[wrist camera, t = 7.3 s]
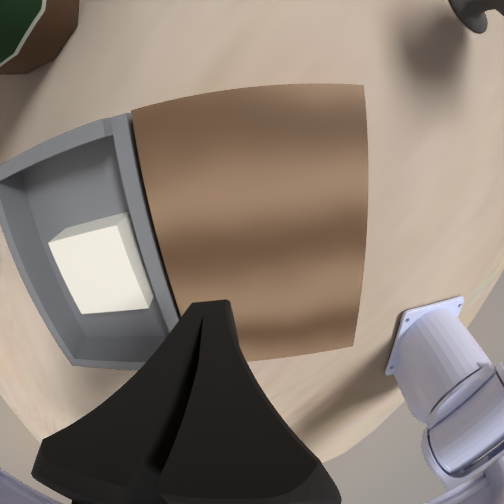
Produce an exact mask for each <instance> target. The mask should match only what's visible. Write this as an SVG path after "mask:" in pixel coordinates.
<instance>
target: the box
mask: <svg viewBox="0 0 504 504" xmlns="http://www.w3.org/2000/svg"><path fill="white" fill-rule="evenodd" d="M125 212H130V214H131V218H132V222H133V225H134V229H135V233H136V236H137V240H138V243H139V246H140V250H141V253H142V256H143V259H144V262H145V266H146V269H147V272H148V275H149V278H150V281H151V284H152V286H153V289H154V292H155V294H154V297H153V299H152V302H151V304H150V306H149V308H146V309H136V310H125V311H114V312H102V313H89V314H81V312H80V310H79V308H78V306H77V304H76V303H75V301H74V299H73V297H72V295H71V293H70V291H69V289H68V287H67V285H66V283H65V281H64V279H63V276H62V274H61V272H60V270H59V268H58V266H57V263H56V261H55V259H54V256H53V254H52V252H51V249H50V247H49V244H48V242H50V241H51V240H52V239H53V238H54V237H56V236H57V235H58V234H59V233H60V232H62V231H63V230H64V229H65V228H69V227H72V226H76V225H79V224H83V223H86V222H90V221H94V220H98V219H101V218H105V217H109V216H113V215H117V214H121V213H125ZM0 224H1V227H2V230H3V233H4V236H5V239H6V241H7V244H8V247H9V249H10V252H11V254H12V257H13V259H14V262H15V264H16V267H17V269H18V271H19V273H20V276H21V278H22V280H23V282H24V284H25V286H26V288H27V290H28V293H29V295H30V297H31V298H32V300H33V302H34V304H35V306H36V308H37V310H38V312H39V314H40V315H41V317H42V319H43V321H44V322H45V324H46V326H47V327H48V329H49V331H50V332H51V334H52V336H53V337H54V339H55V341H56V342H57V344H58V345H59V347H60V348H61V350H62V351H63V353H64V354H65V356H66V357H67V359H68V360H69V362H70V363H71V365H73V366H82V367H93V368H107V369H125V370H139V369H140V368H141V367H142V366H143V365H144V364H145V363H146V362H147V361H148V359H149V358H150V357H151V356H152V355H153V353H154V352H155V351H156V350H157V349H158V347H159V346H160V345H161V344H162V342H163V341H164V340H165V338H166V337H167V336H168V334H169V333H170V332H171V330H172V329H173V328H174V326H175V325H176V324H177V322H178V321H179V319H180V318H181V314H180V311H179V308H178V305H177V302H176V299H175V296H174V293H173V290H172V286H171V283H170V280H169V277H168V273H167V270H166V267H165V263H164V260H163V256H162V253H161V249H160V246H159V242H158V238H157V234H156V231H155V227H154V223H153V219H152V215H151V211H150V206H149V202H148V198H147V194H146V189H145V185H144V180H143V175H142V170H141V165H140V160H139V155H138V150H137V144H136V139H135V133H134V127H133V120H132V114H131V113H125V114H122V115H118V116H115V117H112V118H105V119H100V120H97V121H94V122H91V123H89V124H86V125H83V126H81V127H78V128H76V129H73V130H71V131H68V132H66V133H64V134H61V135H59V136H57V137H55V138H52V139H50V140H48V141H46V142H44V143H41V144H39V145H37V146H35V147H33V148H31V149H29V150H27V151H25V152H23V153H22V154H20V155H18V156H16V157H14V158H12V159H11V160H9V161H7V162H5V163H4V164H2V165H0Z"/></svg>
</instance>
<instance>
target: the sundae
mask: <svg viewBox="0 0 504 504" xmlns="http://www.w3.org/2000/svg"><path fill="white" fill-rule="evenodd" d="M450 2H451V5H452V7H453V9H454V10H455V12H456V13H457V15H458V16H459V18H460V19H461V20H462V21H463V22H464V23H465V24H466V25H467V26H468V27H469V28H471V29H472V30H474V31H475V32H478V33H483V32H485V31H486V29H487V18H486V15H485V11H487V10H492V9H496V10H497V11H499V12H500V13H501V14H502V15H503V16H504V0H450Z"/></svg>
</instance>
